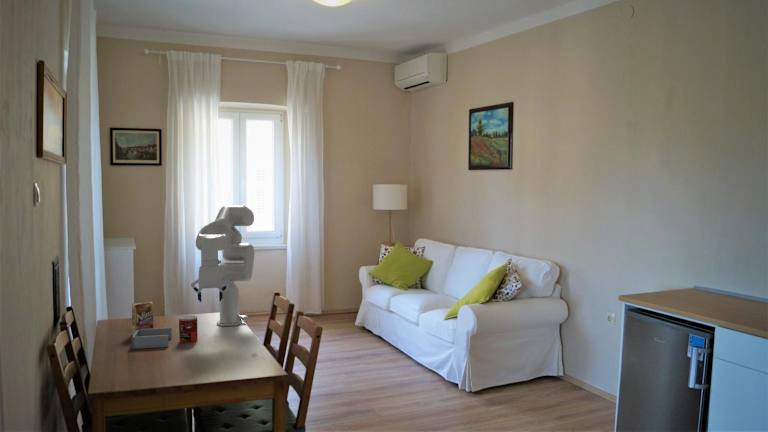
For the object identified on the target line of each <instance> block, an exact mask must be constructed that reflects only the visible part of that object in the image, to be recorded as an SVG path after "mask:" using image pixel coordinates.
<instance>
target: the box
mask: <svg viewBox="0 0 768 432" xmlns="http://www.w3.org/2000/svg"><path fill="white" fill-rule="evenodd" d="M172 333H173V331H172V327H156V328H155V327H153V329H137V330H136V332H135V333H134V335H132V336H131V349H132V350H133V349H134V350H135V349H136V350H137V349H148V348H149V349H150V348H166V347H169V345H170V344H169V340H170V339H171V340H172V338H173V337H172V336H173V334H172Z"/></svg>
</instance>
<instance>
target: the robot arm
mask: <svg viewBox="0 0 768 432" xmlns="http://www.w3.org/2000/svg"><path fill="white" fill-rule="evenodd" d="M254 221H255V214H254V212H253V211H252V210H251V209H250V208H248V206H246V205H233V204H231V205H223V206H222V207H221V208H220V209H219V210H218V213H217V214H216V218H215V219H214V220H213V221H212V222H210V223H208V224H206V225H204V226H203V227H202V228H201V229H200V230H199V231H198V234H197V236H196V239H195V247H196V249H197V250H199V251H200V260H201V261H200V263H201V264H200V266H199V269H198V279H196V280H194V281H193V282H192V283H190V286H191V287H192V289H193V291H195V292H196V293H197V300H198V301H199V303H201V302H202V290H203V289H218V290H219V294H218V296H219V300H218V301H219V320H217V321H216V325H218V326H221V327H234V326H239V325H241V324H243V320H246V321H247V320H248V321H249V315H240V314H241V313H240V312H239V311H240V308H239V307H240V305H239V303H240V301H239V300H240V299H239V298H240V297H239V295H240V294H239V287H238V286H237V284H236V283H235V282H248V281H250V280H251V279H252V277H253V273H254V272H253V270H254V262H255V248H254V246H253V245H252V244H251V243H242V239H243V235H242V233H241V232H240V230H238V228H236V227H251V226H252V225H253V224H254ZM219 251H221V252H222V257H223V260H224V261H226V262H223V263H222V260H220V259H219ZM196 284H198V287H197V286H196ZM241 319H242V320H241Z"/></svg>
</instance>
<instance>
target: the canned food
mask: <svg viewBox="0 0 768 432" xmlns="http://www.w3.org/2000/svg"><path fill="white" fill-rule="evenodd" d="M178 330H179V334H178V335H179V342H180V343H182V344H189V343H190V344H191V343H196V342H197V341H198V316H197V315H184V316H183V315H182V316H179V318H178Z"/></svg>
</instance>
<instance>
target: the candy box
mask: <svg viewBox="0 0 768 432" xmlns="http://www.w3.org/2000/svg"><path fill="white" fill-rule="evenodd" d="M153 328H154V302H153V301H144V302H138V303H137V302H136V303H135V302H134V303H132V304H131V335H132V336H133V335H134V333H135V332H136V330H137V329H153Z"/></svg>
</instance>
